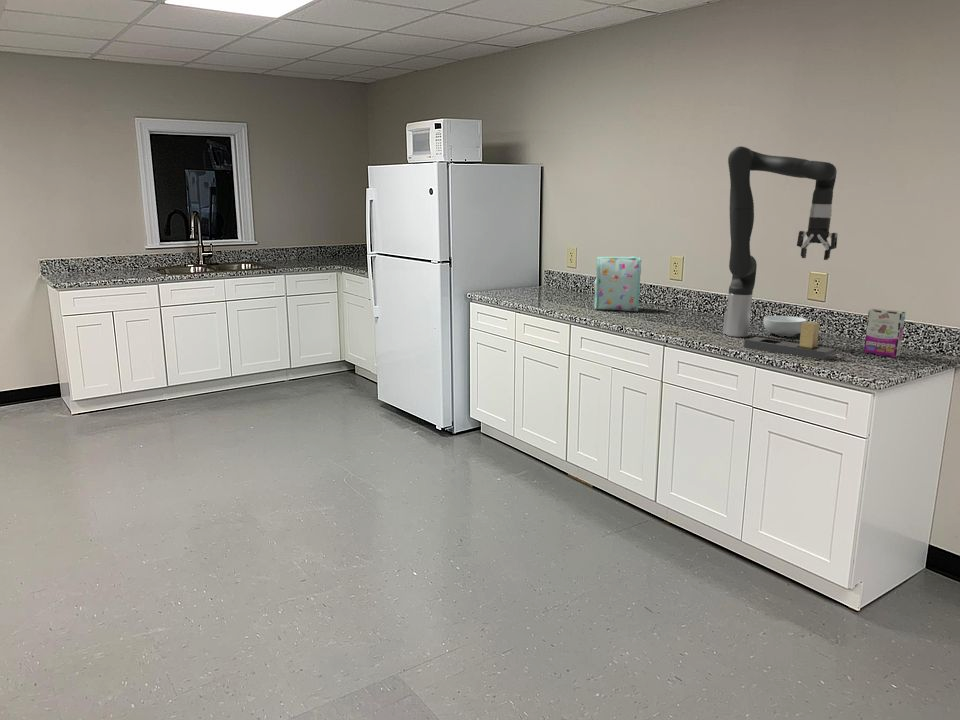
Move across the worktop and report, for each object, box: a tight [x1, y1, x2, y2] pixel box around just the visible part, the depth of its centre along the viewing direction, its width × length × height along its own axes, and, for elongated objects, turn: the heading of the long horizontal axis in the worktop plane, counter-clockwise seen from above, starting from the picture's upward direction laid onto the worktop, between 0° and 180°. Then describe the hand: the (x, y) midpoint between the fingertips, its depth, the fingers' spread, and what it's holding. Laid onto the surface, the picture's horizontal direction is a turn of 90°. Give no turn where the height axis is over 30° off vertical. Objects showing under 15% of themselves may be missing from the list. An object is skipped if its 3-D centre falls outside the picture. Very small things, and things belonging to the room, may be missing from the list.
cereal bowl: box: [763, 315, 808, 338], centre depth 307 cm, size 17×17×7 cm
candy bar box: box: [863, 308, 906, 358], centre depth 269 cm, size 11×5×16 cm, turn 45°
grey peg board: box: [743, 336, 837, 361], centre depth 271 cm, size 30×9×3 cm, turn 43°
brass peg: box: [798, 320, 820, 350], centre depth 265 cm, size 4×4×12 cm
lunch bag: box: [593, 255, 642, 312], centre depth 371 cm, size 23×16×27 cm
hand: (814, 259), depth 285 cm, fingers open, 8 cm apart
